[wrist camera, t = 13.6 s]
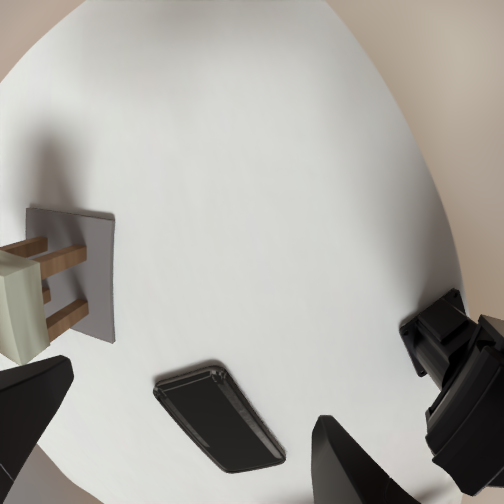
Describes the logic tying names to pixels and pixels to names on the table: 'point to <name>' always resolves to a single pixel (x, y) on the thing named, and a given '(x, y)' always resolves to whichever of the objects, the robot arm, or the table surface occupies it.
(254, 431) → the phone
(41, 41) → the table surface
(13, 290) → the stool
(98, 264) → the mat
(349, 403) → the table surface
